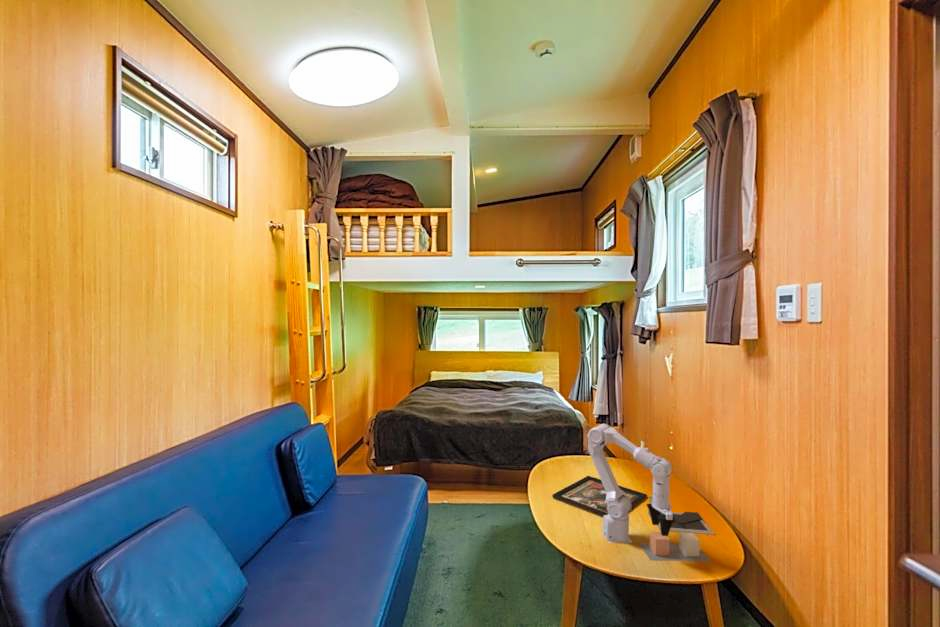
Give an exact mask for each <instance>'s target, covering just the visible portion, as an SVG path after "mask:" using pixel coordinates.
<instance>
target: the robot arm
mask: <svg viewBox="0 0 940 627" xmlns="http://www.w3.org/2000/svg"><path fill="white" fill-rule="evenodd" d="M586 437H587V451H588V453H589V456H590V458H591V460H592V463H593V465H594V467H595V470H596V471H597V474H598V476H599V479H600V480H601V481H602V484H603V486H604V488H605V491H606V493H607V494H606V503H607V509H608V513H609V514H608V515H604V516H603V518H602V530H601V533H602V535H603V537H604V538H605V539H606V541H607V543H626V544H627V543H629V544H632V543H633V541H632V540H631V538H630V537H629V536H630V535H629V529H630V528H629V526H630V515H629V512H630V511H631V510H632V509H631V506H632V505H631V501H630V500H629V498H628V497H627V496H626V495H625V493H624V491H622V490H621V489H620V488H619V486H620V485H619V486H618V482H617V480H616V477H615V476H614V472H613V471H612V468H611V465H610V463H609V461H608V458H607V457H606V455H605V452H604V450H603V449H604V447H605V445H606V444H615V445H616V446H618V447H620V448H621V449H623V450H625V451H626V452H628V453H629V454H631V455H632V457H633V459H634V460H635V461H636V462H637V463H639V464H641V465H642V466H643V467H644V468H646V469H647V470H649V471H650V472H651V474H652V476H653V477H652V496H649V502H650V503H647V504H646V506H647V509H648V511H649V512H650V515H651V517H650V520H651V524H652V525H653V526H657V525H659V522H660V527H661V531H660V532H661V534H662V536H667V537H668V536H669V533H670V532H671V531H670V528H671V526H672V524H673V523H674V522H675V518H674V517H673V514H672V513H671V512H672V510H671V509H673V505H672V504H671V503H670V495H671V494H670V490H671V489H670V486H671V483H670V481H671V478H670V477H671V475H670V474H671V473H672V470H673V466H672V464H671V462H670V461H669V460H667V459H666V458H663V457H662V458H661V456H657V455H656V454H654V453H652V451H649V448H648V447H644V446H639V447H638V446H637V445H636V444H634V443H633V442H631V441H630V440H628V439H627V438H626V437H624V436H623V435H622V434H621V433H619V432H618V431H617V430H616V428H613V427H612V426H610V425H609V424H607V423H601V424H599V425H597V426H595V427H592V428H590V429H589V430H588V433H587V435H586ZM630 509H631V510H630ZM629 510H630V511H629ZM628 511H629V512H628ZM661 513H663V516H660V514H661Z"/></svg>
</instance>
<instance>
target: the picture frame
mask: <svg viewBox="0 0 940 627" xmlns="http://www.w3.org/2000/svg"><path fill="white" fill-rule="evenodd" d="M647 512H648V513H647V514H648V516H649V517H650V518H651V515H650V512H649V510H648V511H647ZM671 513H672V514H673V517H674V518H675V522H674V523H673V524H672V526H671V528H670V531H669V532H674V533H675V532H676V533H693V534H699V535H712V536H713V535H715V533H714V532H713V530H712V529H711V528H710V526H709V525H707V523H706V522H705V520H703V517H702V516H701V515H700V513H699V512H694V511H684V512H673V511H671ZM660 516H663V513H661V514H660ZM656 527H657V528H658V530H659V532H661V527H660V522H659V525H656Z"/></svg>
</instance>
